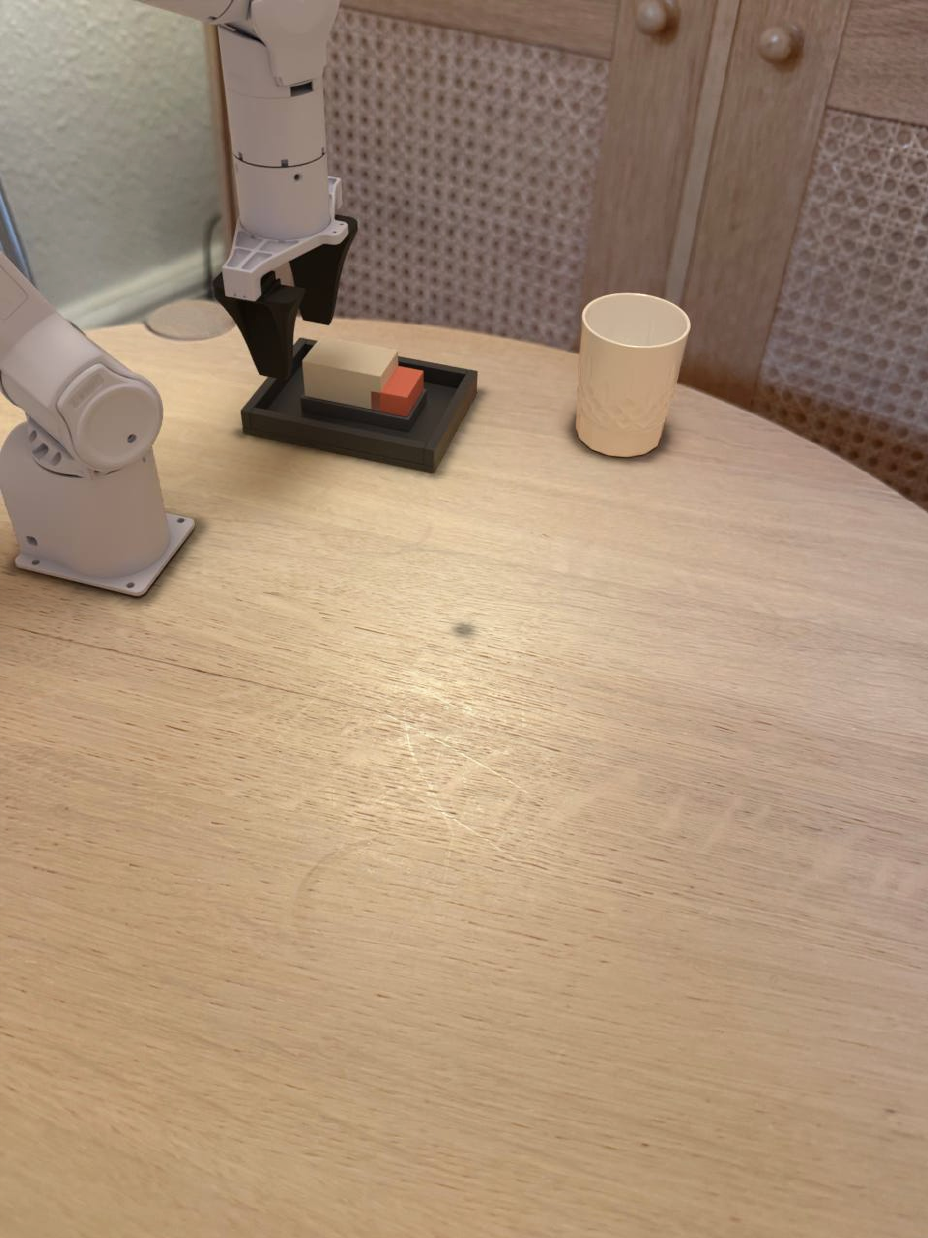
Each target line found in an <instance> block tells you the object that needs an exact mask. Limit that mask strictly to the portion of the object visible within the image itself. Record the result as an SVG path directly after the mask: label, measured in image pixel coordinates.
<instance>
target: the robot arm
mask: <svg viewBox="0 0 928 1238" xmlns="http://www.w3.org/2000/svg"><path fill="white" fill-rule="evenodd" d="M133 1H134V2H138V3H142V4H144V5H148V6H151V7H154V8H157V9H160V10H164V11H167V12H170V13H173V14H177V15H180V16H182V17H186V18H190V19H192V20H195V21H199V22H202V23H205V24H209V25H215V26H217V32H218V33H217V34H218V41H219V50H220V59H221V68H222V77H223V83H224V92H225V99H226V109H227V118H228V127H229V134H230V143H231V153H232V161H233V162H232V163H233V169H234V178H235V179H234V180H235V187H236V195H237V196H236V197H237V204H238V210H239V211H238V213H239V215H238V218H237V220H236V225H235V231H234V235H233V239H232V245H231V249H230V253H229V257H228V259H227V261H226V262H225V263H224V264H223V265H222V266H221V271H220V273H219V274H217V276H216V277H215V278H213V280H212V283H211V285H212V291H213V296H214V298H215V300H216V301H217V302H218V303H219V304H220V305H221V306H222V308H224V310H225V311H226V312H227V313H228V315H229V316H230V317H231V319H232V320H233V322H234V323H235V325H236V327H237V328H238V330H239V331H240V334H241V336H242V338H243V340H244V342H245V344H246V346H247V349H248V351H249V354H250V356H251V359H252V361H253V363H254V366H255V368H256V371H257V373H258V375H259V376H262V377H266V378H267V377H271V378H276V379H281V380H287V378H288V377H289V376H290V373H291V369H292V363H293V345H294V335H295V326H296V321H297V317H298V316H297V315H298V311H299V313H300V316H301V319H302V321H304V322H310V323H313V324H319V325H325V326H330V325H331V323H332V322H333V319H334V316H335V311H336V305H337V302H338V301H337V300H338V294H339V289H340V282H341V278H342V273H343V270H344V266H345V263H346V259H347V257H348V253H349V250H350V249H351V248H350V247H351V245H352V243H353V241H354V239H355V237H356V235H357V233H358V231H359V225H358V220H357V219H356V218H354V217H352V216H348V215H343V214H336V211H338V210H340V209H341V208H342V207H343V203H344V202H343V187H342V186H343V185H342V178H341V177H337V176H329V172H328V171H329V169H328V151H327V133H326V118H325V100H324V84H323V83H324V82H323V74H324V67H325V66H327V65H328V58H327V57H328V56H327V55H328V54H327V42H328V37H329V35H330V32H331V29H332V27H333V26H334V23H335V21H336V18H337V15H338V12H339V8H340V4H341V0H133ZM286 263H288V265H289V268H290V272H291V275H292V280H293V285H294V286H292V285H287V284H282V279H281V278H280V277H278V278H277V276H276V275H277V274H276V271H275V269H278V268H279V267H281V266H283V265H286ZM0 393H1V395H3V397H4V398H5V399H6V400H7V401H8V402H10V403H11V404H12V405H13V406H15V407H16V408H18V409H21V410H22V412H24V415H25V417H26V420H24V421H22V422H20V423H18V424H17V425H16V426H15V427H14V428H13V429H12V430H10V432H9V434H8V435H7V437H6V438H5V440H4V442H3V444H2V445H1V448H0V494H1V497H2V499H3V502H4V506H5V509H6V511H7V514H8V517H9V520H10V523H11V526H12V529H13V531H14V534H15V537H16V541H17V543H18V546H19V549H20V553H19V554H18V555H17V556H16V558H15V559H14V563H15V565H16V567H17V568H18V569H24V570H27V571H31V572H35V573H40V574H44V575H47V576H52V577H57V578H59V579H65V580H69V581H73V582H77V583H81V584H85V585H88V586H93V587H98V588H100V589H105V590H110V591H113V592H117V593H121V594H126V595H129V596H134V597H141V596H142V595H144V594H146V592H147V591H148V590H149V588H150V587H151V585H152V584H153V583H154V581H155V580H156V579H157V577H158V576H159V575H160V574H161V572H162V571H163V570H164V568H165V567H166V566H167V564H169V562H170V560H171V559H172V558H173V556H174V555H175V554H176V552H177V551H178V549H179V548H180V547H181V546H182V544H183V543H184V542H185V540H186V539H187V538H188V537H189V535H190V534H191V533H192V531H193V530H194V529H195V527H196V523H195V519H194V518H192V517H188V516H184V515H178V514H174V513H170V512H166V511H167V510H166V506H165V502H164V497H163V491H162V487H161V481H160V477H159V472H158V468H157V463H156V458H155V454H154V448H153V445H154V443H155V442H156V440H157V439H158V437H159V434H160V433H161V429H162V427H163V421H164V403H163V400H162V397H161V394H160V392H159V391H158V389H157V388H156V386H155V385H154V384H153V382H151V381H150V380H149V379H148V378H146V377H145V376H144V375H142V374H139V373H137V372H134V371H132V370H131V369H130V368H128V367H127V366H126V365H124V364H123V363H122V362H121V361H119V360H118V359H117V358H116V357H114V356H113V355H112V354H110V353H109V352H108V351H107V350H105V349H104V348H103V347H101V346H100V345H99V344H97V343H96V342H94V341H93V340H92V339H91V338H89V337H88V336H87V334H86V333H85V332H84V331H83V330H82V329H81V328H80V327H79V326H78V325H77V324H75V323H74V322H73V321H71V320H69V319H67V318H65V317H64V316H63V315H62V314H60V312H58V310H57V309H56V308H54V306H53V305H52V304H51V303H50V302H49V301H48V299H47V298H45V296H43V294H42V293H41V292H40V291H39V290H38V289H37V288H36V287H35V286H34V285H33V283H32V282H31V281H29V279H28V278H27V277H26V276H25V275H24V274H23V272H21V271H20V269H18V268H17V266H16V265H15V264H14V263H13V262H12V261H11V259H9V258H8V257H7V256H6V254H5V253H4V252H3V251H2V250H1V249H0Z"/></svg>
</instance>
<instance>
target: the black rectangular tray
mask: <svg viewBox="0 0 928 1238" xmlns="http://www.w3.org/2000/svg"><path fill="white" fill-rule="evenodd" d="M317 341H318V340H317V339H311V338H305V337H299V338H298V339H297V340H296V341H295V342H294V343H293V363H292V369H291V373H290V376H289V377H288V378H287V380H281V379H276V378H271V377H266V378H265V380H264V381H263V382H262V383H261V384H260V385H259V387H258V388H257V390H256V391H255V392H254V393H253V394H252V396H251V397H250V398H249V399H248V400H247V402H246V403H245V404H244V406H243V407H242V408H241V410H240V418H241V425H242V434H245V435H250V436H255V437H259V438H263V439H269V440H273V441H278V442H284V443H288V444H292V445H298V446H303V447H308V448H311V449H317V450H322V451H326V452H332V453H336V454H341V455H345V456H350V457H354V458H355V457H356V458H359V459H360V458H361V459H365V460H369V461H375V462H380V463H384V464H389V465H392V466H399V467H403V468H407V469H413V470H417V471H423V472H427V473H432V474H434V473H435V471H436V469H437V468H438V466H439V465H440V462H441V460H442V458H443V457H444V455H445V453H446V451H447V449H448V447H449V445H450V443H451V442H452V440H453V438H454V436H455V434H456V432H457V431H458V428H459V427H460V425H461V423H462V421H463V419H464V418H465V416H466V413H467V412H468V410H469V408H470V407H471V405H472V402H473V400H474V398H475V397H476V395H477V393H478V374H479V372H478V370H475V369H471V368H470V369H469V368H464V367H458V366H455V365H448V364H443V363H438V362H433V361H427V360H422V359H418V358H417V359H416V358H412V357H406V356H401V355H398V366H401V367H406V368H411V369H417V370H422V371H423V372H424V373H423V389H427V402H426V404H425V405H424V407H423V409H422V411H421V412H420V414H419V416H418V417H417V419H416V421H415V422H414V424H413V426H412V427H411V429H410V431H409V432H405V431H401V430H396V429H391V428H386V427H381V426H376V425H371V424H366V423H362V422H357V421H352V420H347V419H342V418H337V417H332V416H327V415H323V414H318V413H313V412H308V411H303V410H301V401H300V397H301V396H302V395H303V393H304V392H305V389H304V377H303V365H302V360H303V359H304V358H305V357H306V355H307V354H308V353H309V352H310V350H311V349H312V348H313V346H314V345H315V344H316V343H317Z"/></svg>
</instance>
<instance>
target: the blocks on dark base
mask: <svg viewBox="0 0 928 1238" xmlns="http://www.w3.org/2000/svg"><path fill="white" fill-rule="evenodd" d="M398 356H399V350H398V349H394V348H388V347H384V346H377V345H373V344H367V343H363V342H357V341H352V340H346V339H341V338H336V337H330V336H325V335H321V336H320V337H319V339H318V340H317V343H316V344H315V345H314V346H313V348H312V349H311V350H310V352H309V353H308V354H307V355H306V357H305V358H304V359H303V360H302V365H303V377H304V389H305V392H304V393H303V395H302V396H301V397H300V401H301V410H303V411H308V412H313V413H318V414H323V415H327V416H332V417H337V418H342V419H347V420H352V421H357V422H362V423H366V424H371V425H376V426H381V427H386V428H391V429H396V430H401V431H405V432H409V431H410V429H411V427H412V426H413V424H414V422H415V421H416V419H417V417H418V416H419V414H420V412H421V411H422V409H423V407H424V405H425V404H426V402H427V389H423V373H424V372H423V371H422V370H417V369H411V368H406V367H401V366H398Z"/></svg>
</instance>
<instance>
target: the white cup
mask: <svg viewBox="0 0 928 1238" xmlns="http://www.w3.org/2000/svg"><path fill="white" fill-rule="evenodd" d="M691 325H692V324H691V320H690V317H689V316H688V314H687V313H686V312H685V311H684V310H683V309H682V308H680V307H679V306H678V305H676V304H675V303H674V302H671V301H669V300H667V299H664V298H661V297H658V296H654V295H651V294H645V293H639V292H617V293H616V292H615V293H611V294H606V295H603V296H599V297H598V298H595V299H593V300H591V301H590V302H588V303H587V304H586V305H585V307H584V308H583V310H582V313H581V324H580V339H579V352H578V353H579V354H578V365H577V367H578V368H577V389H576V402H577V407H576V417H575V429H576V432H577V435H578V438H579V440H580V441H581V442H583V443H584V444H585V445H586V446H587V447H588V448H589V449H590V450H593V451H596V452H598V453H601V454H603V455H606V456H609V457H621V458H622V457H623V458H630V457H637V456H641V455H645V454H647V453H649V452H650V451H651V450H653V449H655V448H656V447H658V445H659V442H660V441H661V438H662V435H663V431H664V427H665V423H666V419H667V415H669V412H670V409H671V405H672V401H673V398H674V394H675V391H676V387H677V383H678V379H679V375H680V371H681V368H682V367H681V366H682V363H683V359H684V355H685V351H686V347H687V343H688V338H689V334H690V331H691Z"/></svg>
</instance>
